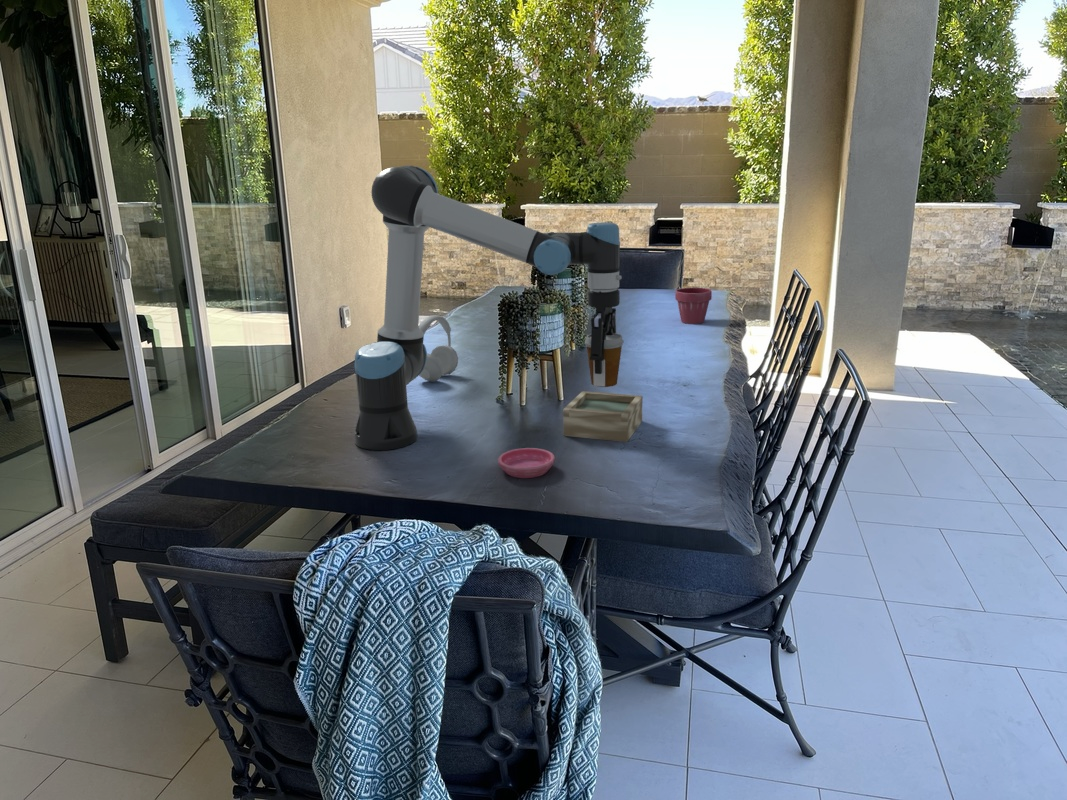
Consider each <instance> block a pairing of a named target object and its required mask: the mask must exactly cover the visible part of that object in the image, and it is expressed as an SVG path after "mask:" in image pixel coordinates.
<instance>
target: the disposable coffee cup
mask: <svg viewBox="0 0 1067 800" xmlns="http://www.w3.org/2000/svg"><path fill="white" fill-rule="evenodd" d="M602 341H603V340H602ZM624 342H625V340H624V339H623V336H622V335H621V334H620V333H617V332H616V333H613V335H606V340H604V359H603V360H605V386H604V387H603V386H596V387H598V388H609V387H615V386H616V385H617V384H618V378H619V371H620V362H621V354H622V346H623V344H624ZM584 344H585V346H586V351H587V359H588V367H589V375H590V381H591V385H592V386H594V382H593V360H590V356H591V333H589V334H587V335H586V337H585V340H584ZM596 355H598V354H596Z"/></svg>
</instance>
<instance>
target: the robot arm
mask: <svg viewBox="0 0 1067 800" xmlns="http://www.w3.org/2000/svg"><path fill="white" fill-rule="evenodd" d="M370 193H371V198H372V200H371V201H372V202H373V204H374V206H375V208H376V209H377V211H378V212H380V214H382V223H383V224H384V225H385V227H386V228H387V229H388V238H387V258H386V260H387V261H386V276H385V277H386V279H385V280H386V281H385V285H386V286H385V299H384V300H385V301H384V302H385V303H384V319H383V325H382V326H381V327H380V328H378V329H377V339H376V342H371V343H370V344H366V345H363V346H361V347H359V349H358V350H357V351H356V352H355V354H354V366H353V367H354V371H355V378H356V380H355V381H356V389H357V390H356V391H357V399H358V400H357V401H358V407H359V409H358V411H359V413H358V417H357V422H356V426H355V429H354V430H355V431H354V443H355V445H356V446H357V447H359V448H361V449H364V450H369V451H386V450H387V451H388V450H396V449H400V448H403V447H407V446H409V445H411V444H413V443H415V442H416V441H417V439H418V429H417V427H416V424H415V421H414V419H413V417H412V414H411V412H410V410H409V406H408V405H409V404H408V394H407V393H408V392H407V391H408V390H407V385H409V384H410V383H412V382H413V381H414V380H416V378H417V377H420V376H419V375H420V373H421V372H422V371H423V368H424V367H425V365H426V361H427V354H428V352H427V347H426V346H425V344H424V336H425V334H424V333H423V332H422V331H421V330H420V329H419V325H420V322H419V320H420V306H421V305H420V304H421V291H422V289H421V288H422V272H423V258H424V244H425V243H424V242H425V241H424V240H425V232H426V231H427V230H429V229H430V228H431V229H433V230H437V231H439V232H441V233H444V234H447V235H450V236H453V237H455V238H458V239H460V240H463V241H466V242H469V243H471V244H474V245H477V246H478V247H482V248H485V249H488V250H490V251H493V252H496V253H499V254H500V255H504V256H506V257H510V258H512V259H514V260H517V261H519V262H522V263H525V264H528V265H530V266H533V267H534V268H536V269H537V270H538V271H540V272H541V273H542V274H544V275H549V276H555V275H558V274H560V273H562V272H564V271H565V270H566V269H567V268H568V267H569V266H572V265H581V266H582V265H587V288H588V289H589V290H588V291H587V301H588V302H587V304H588V306H589V307H591V308H595V313H594V314H593V317H591V318H590V322H591V325H590V326H591V332H590V334H591V356H590V360H593V382H594V385H593V387H597V386H603V387H602V388H605V387H604V386H605V360H603V359H604V340H606V335H613V333H617V322H616V316H617V309H616V308H615V307H618V306H619V305H620V304H621V302H620V300H621V299H620V297H621V295H620V293H621V292H620V290H619V289H618V288H620V280H622V275H620V266H621V265H620V258H621V257H620V255H621V253H620V252H621V242H620V241H621V240H620V239H621V238H620V227H619V226H618V224H617V223H615V222H591V223H588V225H587V228H586V231H584V232H583V231H581V232H554V231H549V232H541V231H539V230H536V229H533V228H531V227H528V226H526V225H522V224H520V223H517V222H514V221H512V220H509V219H507V218H504V217H501V216H499V215H496V214H493V213H490V212H488V211H485V210H482V209H479V208H478V207H475V206H471V205H468V204H466V203H464V202H462V201H458V200H455V199H454V198H451V197H447V196H445V195H442V194H439V189H438V185H437V182H436V180H435V179H434V177H433V175H431V173H430V172H428V171H427V170H426V169H424V168H422V167H419V166H414V165H403V166H393V167H388V168H386V169H384V170H382V171H380V172H378V174H377V175H376V177H375V178H374V180H373V183H372V186H371V191H370ZM602 340H603V341H602ZM596 354H598V355H596Z"/></svg>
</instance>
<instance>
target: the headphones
mask: <svg viewBox="0 0 1067 800" xmlns="http://www.w3.org/2000/svg"><path fill="white" fill-rule="evenodd" d="M435 321H436V322H438V323H439V324H440V325H441V327H442V328H443V330H444V331H445V333H446V335H447V341H448V344H445V345H444V344H443V345H437V346H436V347H435V348H433V349H432V351H431V352H430V353H427V361H426V365H425V367H424V368H423V371H422V372H421V373H420V375H419V376H418V377H420V378H422V379H424V380H425V381H428V382H431V383H433V382H437V381H439V380H440V379H441V377H442V376H446V375H451V374H452V373H453V372H454V371H456V370H457V367H458V363H459V355H458V353H457V351H456V350H455V349H454V348H453V346H452V343H451V337H452V336H451V331H452V328H451V326H450V324H449V322H448V320H447V318H445V317H444V316H441V315H437V314H436V315H435V314H434V315H433V314H432V315H429V316H426V317H425V318H423V320H422V321H420V322H419V324H418V327H419V329H420V330H421V331H422V332H423V333H424V335H425V334H426V332H427V330H428V328H429V327H430V326H431V325H432V324H433V323H434V322H435Z"/></svg>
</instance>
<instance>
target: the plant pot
mask: <svg viewBox="0 0 1067 800" xmlns="http://www.w3.org/2000/svg"><path fill="white" fill-rule="evenodd" d="M712 292H713V291H712V289H710V288H706V287H682V288H678V289H676V290H675V293H674V294H675V295H674V296H675V297H674V298H675V301H677V305H678V306H677V307H678V313H679V317H680V322H681V323H683V324H688V325H698V324H699V325H700V324H703V323H705V321H706V316H707V314H708V313H707V312H708V308H709V303H710V301H711V300H712V298H713V297H712V294H713V293H712Z"/></svg>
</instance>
